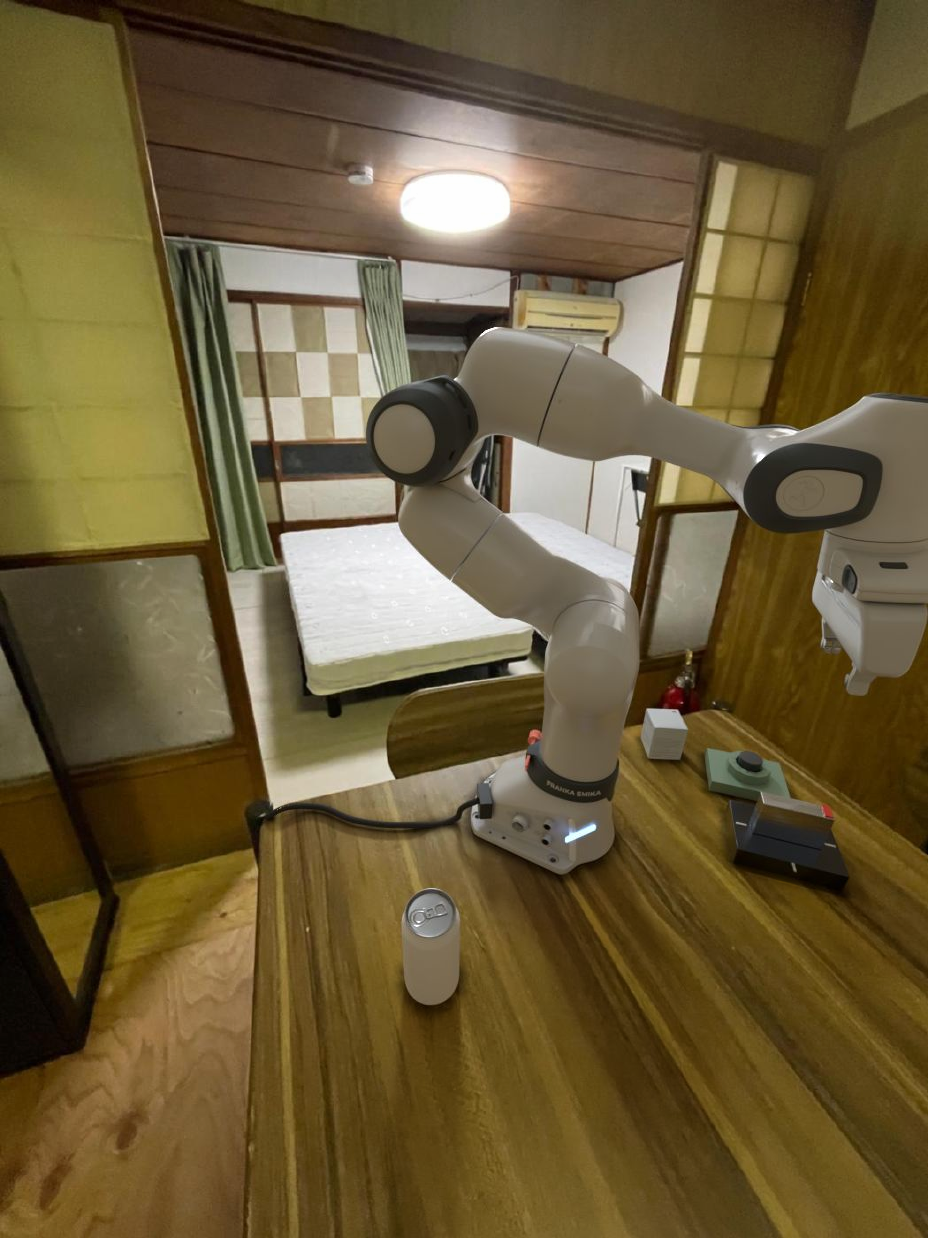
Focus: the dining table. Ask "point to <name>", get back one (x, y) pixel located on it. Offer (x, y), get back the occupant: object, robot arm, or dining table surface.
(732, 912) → the dining table surface
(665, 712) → the product box
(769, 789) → the button block
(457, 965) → the can
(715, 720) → the dining table surface
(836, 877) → the base
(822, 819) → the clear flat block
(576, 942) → the dining table surface
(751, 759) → the button
